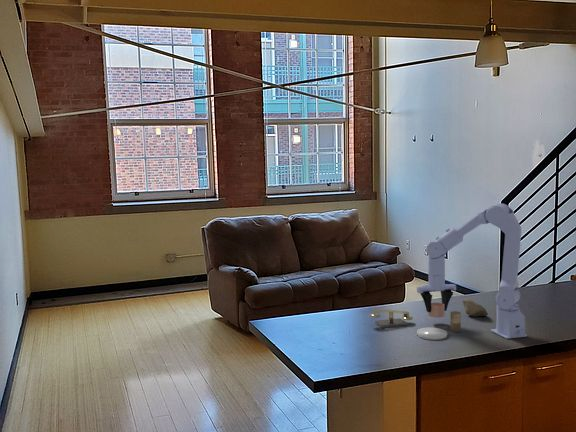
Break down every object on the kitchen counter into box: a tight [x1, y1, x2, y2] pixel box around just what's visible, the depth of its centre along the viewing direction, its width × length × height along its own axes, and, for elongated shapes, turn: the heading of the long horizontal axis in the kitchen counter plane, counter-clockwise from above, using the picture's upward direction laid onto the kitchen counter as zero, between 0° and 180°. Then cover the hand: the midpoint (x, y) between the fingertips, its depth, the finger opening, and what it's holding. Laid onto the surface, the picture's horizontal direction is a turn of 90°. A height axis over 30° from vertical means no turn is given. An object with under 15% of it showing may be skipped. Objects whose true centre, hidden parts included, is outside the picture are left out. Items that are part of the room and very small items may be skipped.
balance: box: [368, 308, 414, 329], centre depth 213 cm, size 6×17×6 cm, turn 103°
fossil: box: [462, 298, 489, 318], centre depth 221 cm, size 9×4×10 cm
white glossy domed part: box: [416, 326, 448, 341], centre depth 200 cm, size 10×10×1 cm
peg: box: [450, 310, 462, 333], centre depth 204 cm, size 3×3×6 cm
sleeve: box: [427, 302, 446, 318], centre depth 213 cm, size 6×6×4 cm
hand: (436, 310), depth 213 cm, fingers closed on sleeve, 6 cm apart
